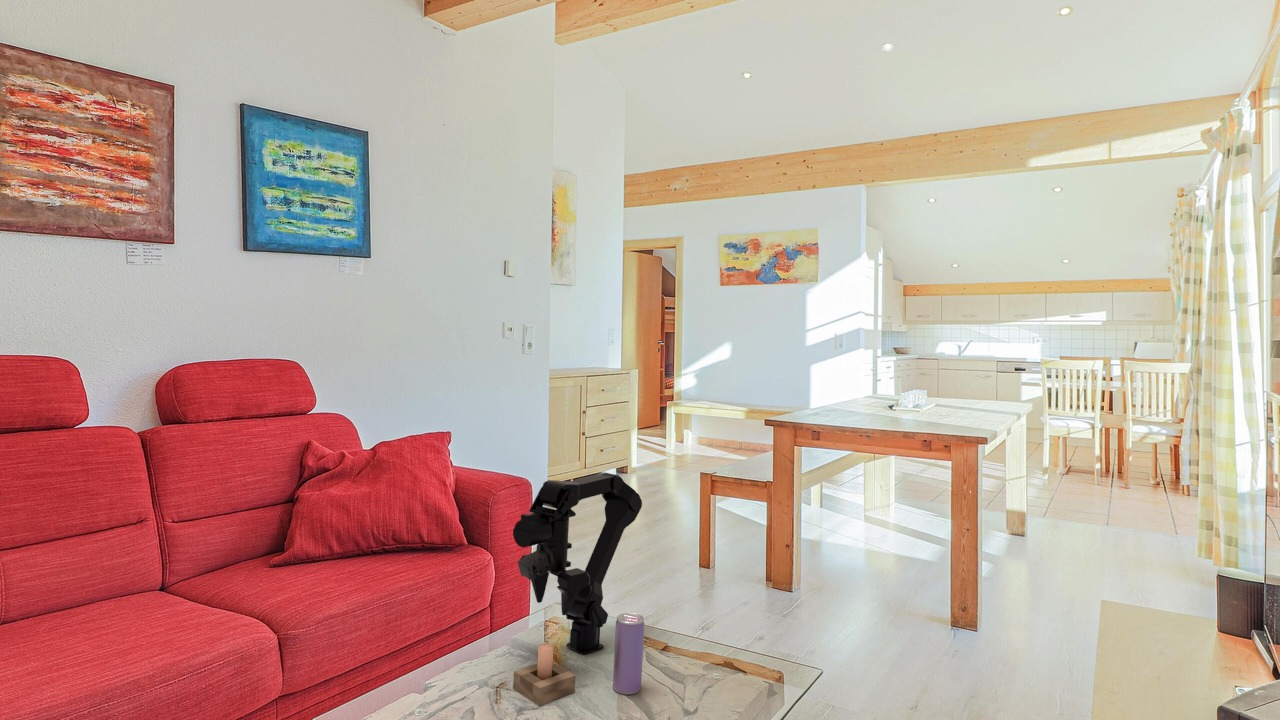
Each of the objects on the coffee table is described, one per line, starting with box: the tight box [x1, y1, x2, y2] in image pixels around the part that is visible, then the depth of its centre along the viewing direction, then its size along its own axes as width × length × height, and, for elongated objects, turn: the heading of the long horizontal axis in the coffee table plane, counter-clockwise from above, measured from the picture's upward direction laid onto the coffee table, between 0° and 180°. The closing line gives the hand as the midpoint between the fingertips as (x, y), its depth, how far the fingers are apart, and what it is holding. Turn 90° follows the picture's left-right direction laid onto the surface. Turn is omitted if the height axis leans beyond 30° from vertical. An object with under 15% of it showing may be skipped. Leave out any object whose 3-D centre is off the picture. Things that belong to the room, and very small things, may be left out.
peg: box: [537, 643, 554, 681], centre depth 149 cm, size 3×3×9 cm
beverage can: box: [612, 612, 645, 696], centre depth 151 cm, size 6×6×15 cm
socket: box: [512, 661, 576, 706], centre depth 149 cm, size 9×9×4 cm
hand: (551, 608), depth 160 cm, fingers open, 9 cm apart
